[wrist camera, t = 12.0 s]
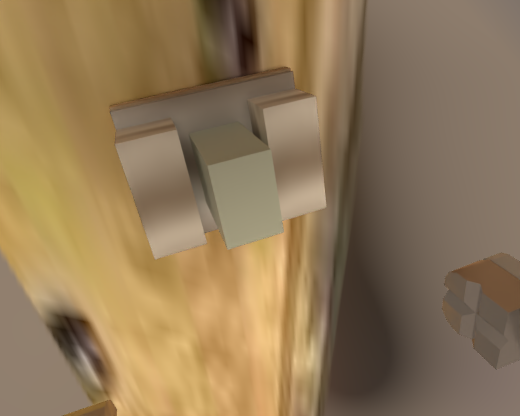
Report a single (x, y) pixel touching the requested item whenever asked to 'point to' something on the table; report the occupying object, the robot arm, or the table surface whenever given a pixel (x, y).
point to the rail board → (183, 161)
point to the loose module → (238, 183)
